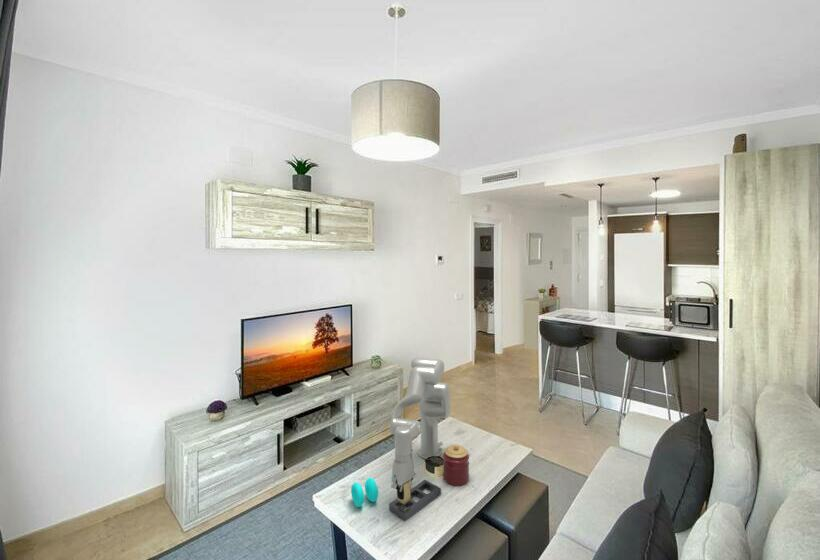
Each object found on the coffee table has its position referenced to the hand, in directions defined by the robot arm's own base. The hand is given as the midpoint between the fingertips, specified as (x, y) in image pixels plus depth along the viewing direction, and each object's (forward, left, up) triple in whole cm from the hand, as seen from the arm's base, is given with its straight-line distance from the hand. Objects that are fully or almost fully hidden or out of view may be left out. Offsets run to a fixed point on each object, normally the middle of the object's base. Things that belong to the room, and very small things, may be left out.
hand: (404, 495), depth 163 cm
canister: (-34, +3, -7) cm, 35 cm away
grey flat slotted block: (-8, 0, -7) cm, 10 cm away
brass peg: (0, 0, -2) cm, 2 cm away
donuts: (+8, -17, -7) cm, 20 cm away
